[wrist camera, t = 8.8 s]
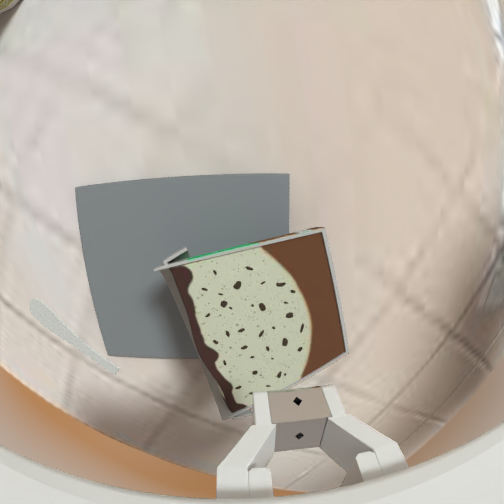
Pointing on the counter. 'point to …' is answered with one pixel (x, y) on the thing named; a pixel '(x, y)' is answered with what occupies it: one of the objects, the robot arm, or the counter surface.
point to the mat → (166, 247)
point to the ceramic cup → (7, 4)
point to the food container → (260, 314)
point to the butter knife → (66, 333)
